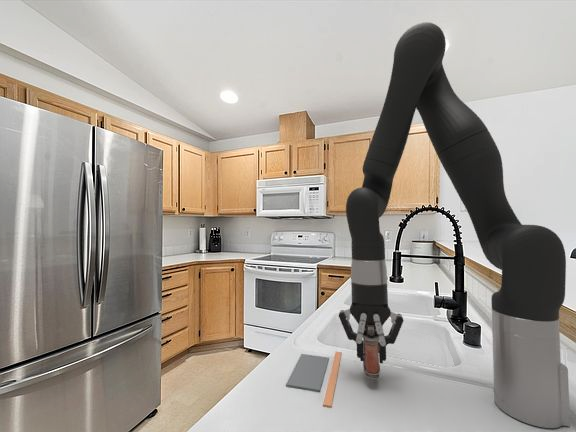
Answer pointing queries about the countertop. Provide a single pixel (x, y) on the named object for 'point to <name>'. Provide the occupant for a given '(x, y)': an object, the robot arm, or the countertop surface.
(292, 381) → the mat
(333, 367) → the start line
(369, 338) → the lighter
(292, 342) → the countertop surface
